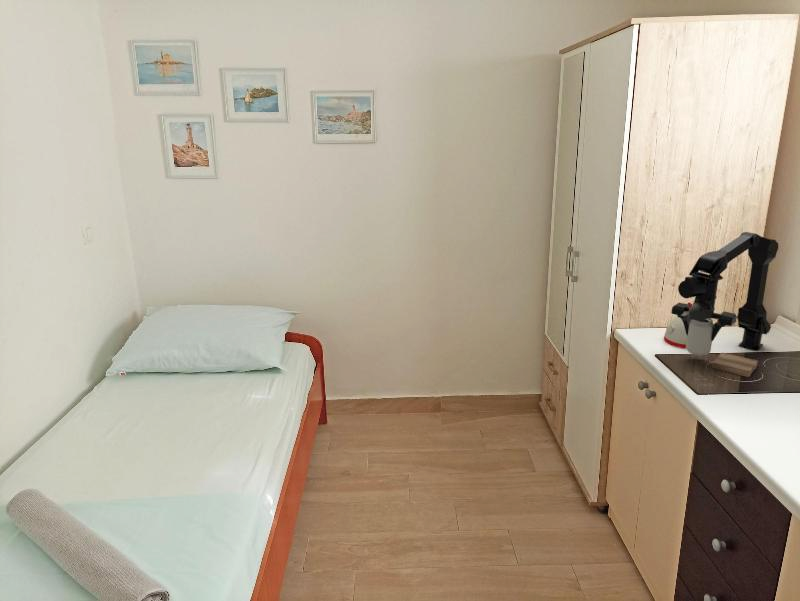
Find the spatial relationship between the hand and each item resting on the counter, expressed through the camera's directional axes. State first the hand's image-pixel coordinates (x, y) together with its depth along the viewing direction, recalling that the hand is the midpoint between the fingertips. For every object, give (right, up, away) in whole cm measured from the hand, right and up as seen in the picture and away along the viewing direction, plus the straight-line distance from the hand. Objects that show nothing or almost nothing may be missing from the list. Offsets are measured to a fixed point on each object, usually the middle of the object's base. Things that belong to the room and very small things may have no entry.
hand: (699, 337), depth 201 cm
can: (0, -5, +2) cm, 5 cm away
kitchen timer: (+4, -3, +19) cm, 20 cm away
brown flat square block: (+10, -10, -2) cm, 14 cm away
